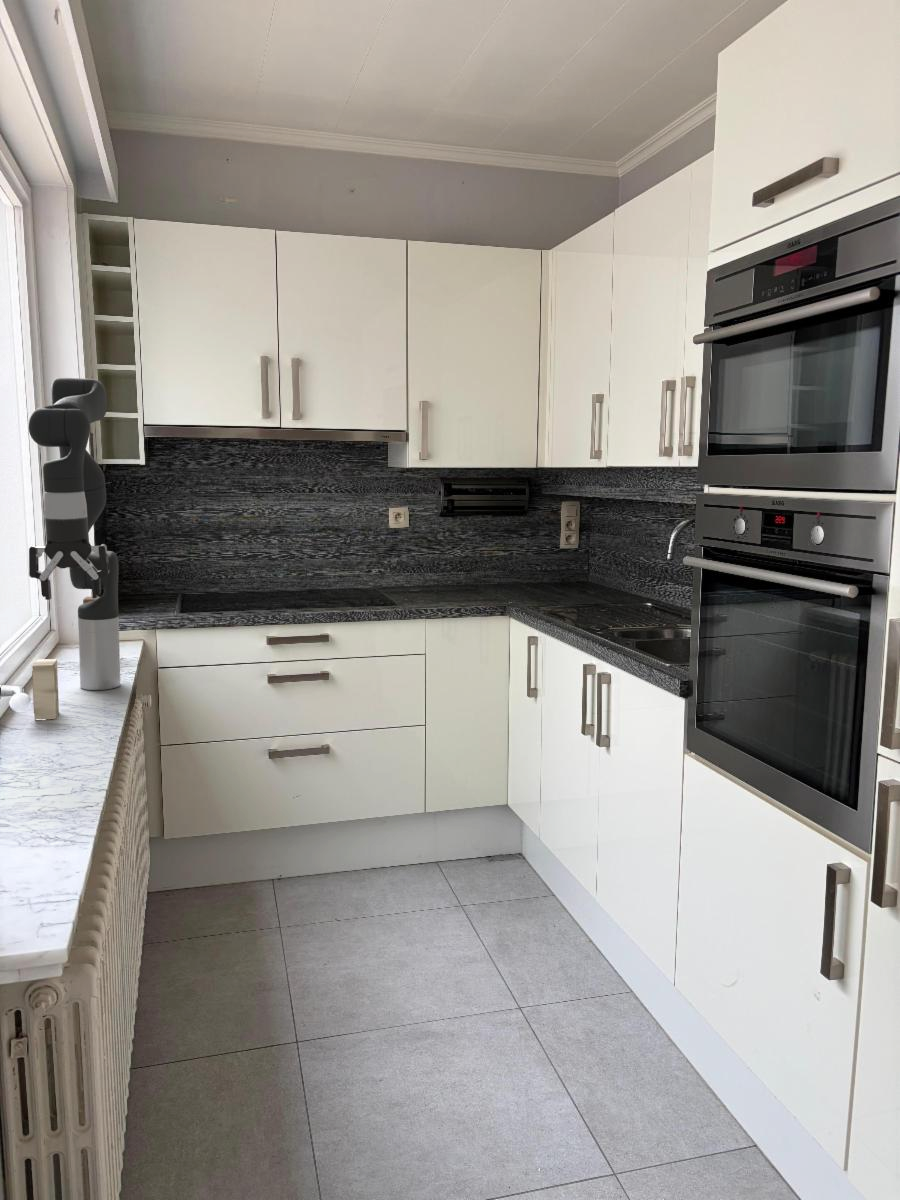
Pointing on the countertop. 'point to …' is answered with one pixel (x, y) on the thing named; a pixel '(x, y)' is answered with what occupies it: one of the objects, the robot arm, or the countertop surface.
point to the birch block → (45, 689)
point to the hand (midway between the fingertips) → (71, 598)
